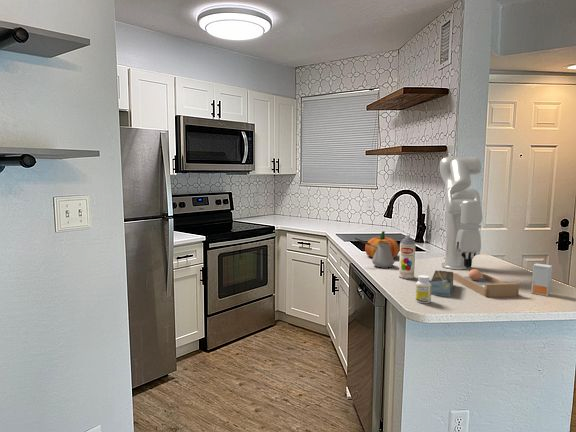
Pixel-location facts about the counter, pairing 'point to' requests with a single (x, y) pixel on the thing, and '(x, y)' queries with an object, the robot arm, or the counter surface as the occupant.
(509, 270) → the counter surface
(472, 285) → the lane
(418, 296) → the supplement bottle
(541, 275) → the skincare box
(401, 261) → the aerosol can
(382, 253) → the coffee pot
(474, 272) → the ball
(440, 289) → the beverage carton
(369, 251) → the pumpkin
